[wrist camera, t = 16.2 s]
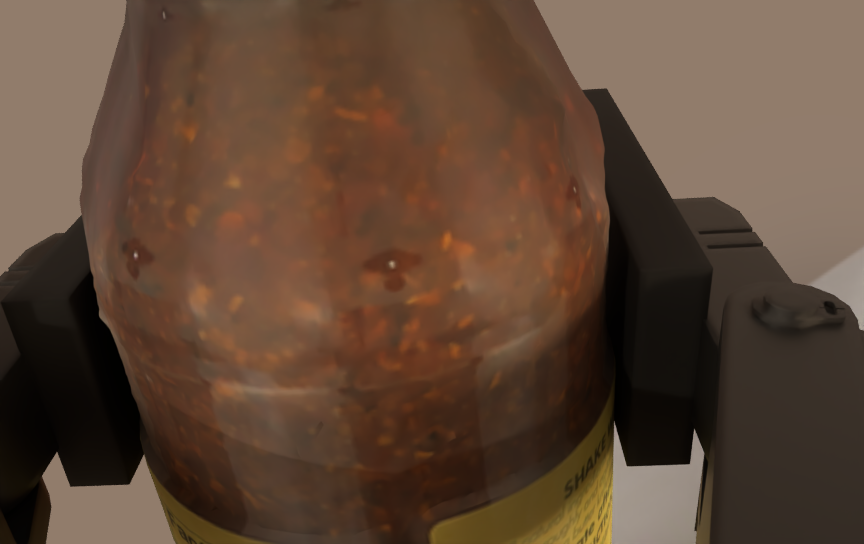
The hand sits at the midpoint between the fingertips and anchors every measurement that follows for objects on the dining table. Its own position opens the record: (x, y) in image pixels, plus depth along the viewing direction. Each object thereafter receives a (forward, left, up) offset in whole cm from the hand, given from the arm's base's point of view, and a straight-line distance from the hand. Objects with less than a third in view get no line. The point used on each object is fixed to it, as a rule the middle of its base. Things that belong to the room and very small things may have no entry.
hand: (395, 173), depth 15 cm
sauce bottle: (+3, +4, -11) cm, 12 cm away
